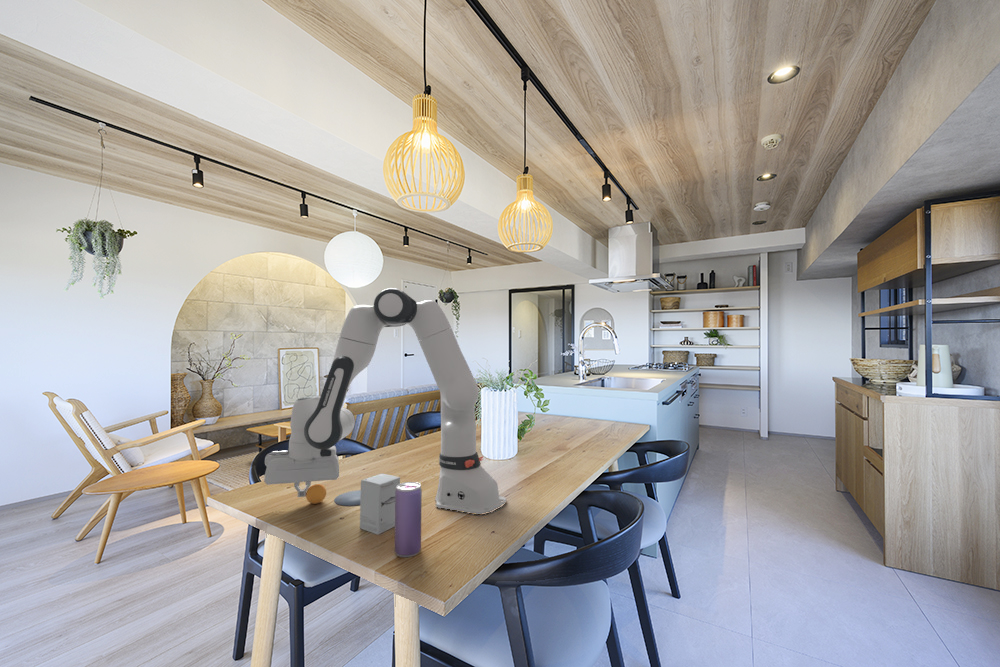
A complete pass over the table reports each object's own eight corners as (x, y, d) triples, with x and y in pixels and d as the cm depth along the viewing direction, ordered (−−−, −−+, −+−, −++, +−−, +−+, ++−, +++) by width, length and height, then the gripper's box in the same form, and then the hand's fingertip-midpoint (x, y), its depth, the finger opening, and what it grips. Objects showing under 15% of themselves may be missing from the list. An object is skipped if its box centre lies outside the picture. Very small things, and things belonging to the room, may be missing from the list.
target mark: (386, 496, 128) (386, 495, 128) (351, 509, 117) (351, 508, 117) (361, 488, 135) (361, 487, 135) (325, 499, 124) (325, 499, 124)
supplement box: (378, 535, 101) (379, 484, 101) (359, 528, 104) (359, 479, 105) (400, 524, 107) (400, 476, 107) (381, 518, 111) (381, 472, 111)
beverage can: (414, 559, 89) (415, 491, 90) (389, 556, 90) (390, 489, 91) (425, 546, 95) (425, 482, 95) (401, 544, 96) (402, 480, 97)
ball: (318, 510, 121) (332, 495, 123) (305, 504, 117) (320, 488, 119) (312, 498, 125) (326, 484, 127) (299, 492, 121) (313, 477, 123)
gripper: (263, 454, 114) (260, 503, 114) (341, 450, 122) (338, 496, 121) (267, 448, 120) (263, 495, 119) (340, 445, 128) (337, 489, 127)
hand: (301, 496), depth 121 cm, fingers closed
